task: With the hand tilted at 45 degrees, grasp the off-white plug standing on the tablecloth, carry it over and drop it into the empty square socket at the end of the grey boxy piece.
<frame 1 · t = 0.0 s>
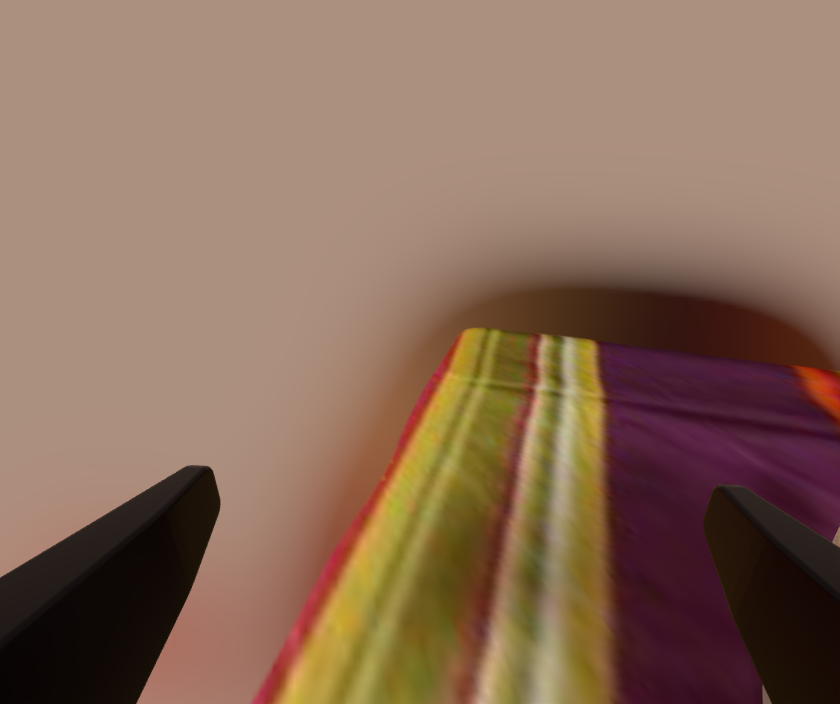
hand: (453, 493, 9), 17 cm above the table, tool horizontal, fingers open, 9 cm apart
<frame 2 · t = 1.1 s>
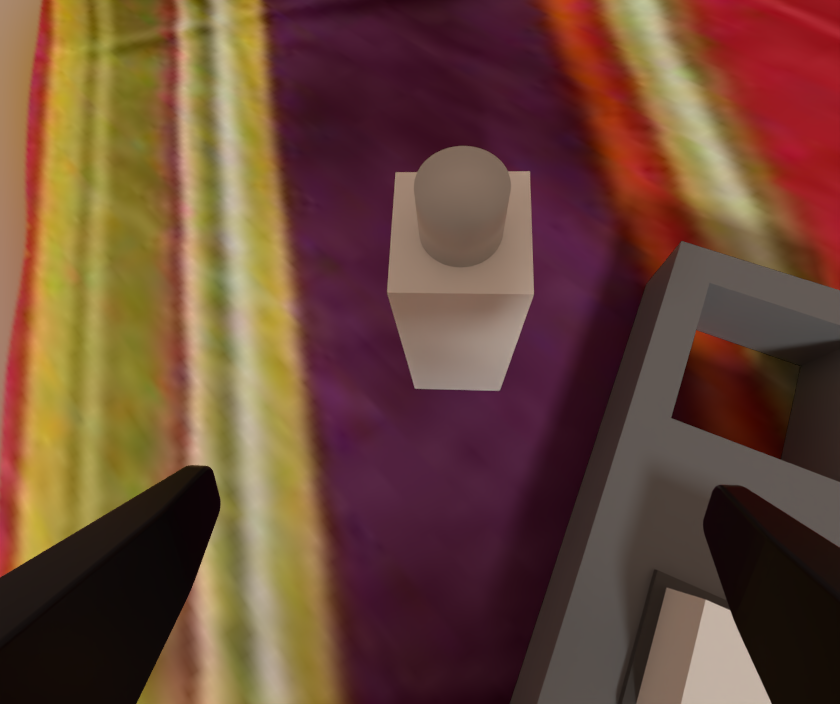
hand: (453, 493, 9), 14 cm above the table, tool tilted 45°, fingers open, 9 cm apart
grey boxy piece: (685, 529, 21), on the table
plug: (457, 349, 24), on the table
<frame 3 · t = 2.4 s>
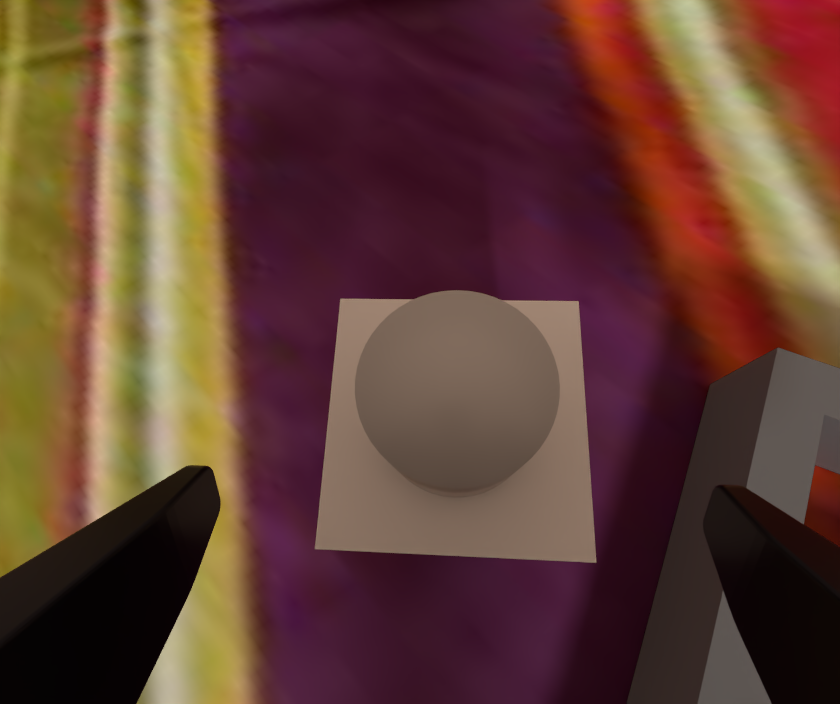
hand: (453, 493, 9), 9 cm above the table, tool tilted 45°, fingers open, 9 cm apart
plug: (454, 477, 18), on the table
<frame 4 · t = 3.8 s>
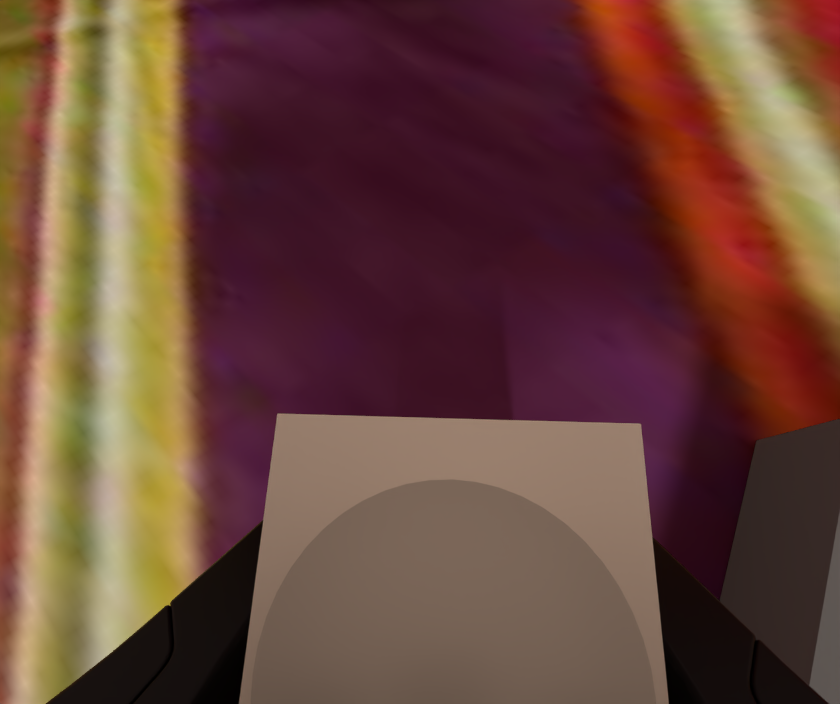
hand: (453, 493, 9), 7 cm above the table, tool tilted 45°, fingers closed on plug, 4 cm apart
plug: (452, 552, 15), on the table, touching gripper
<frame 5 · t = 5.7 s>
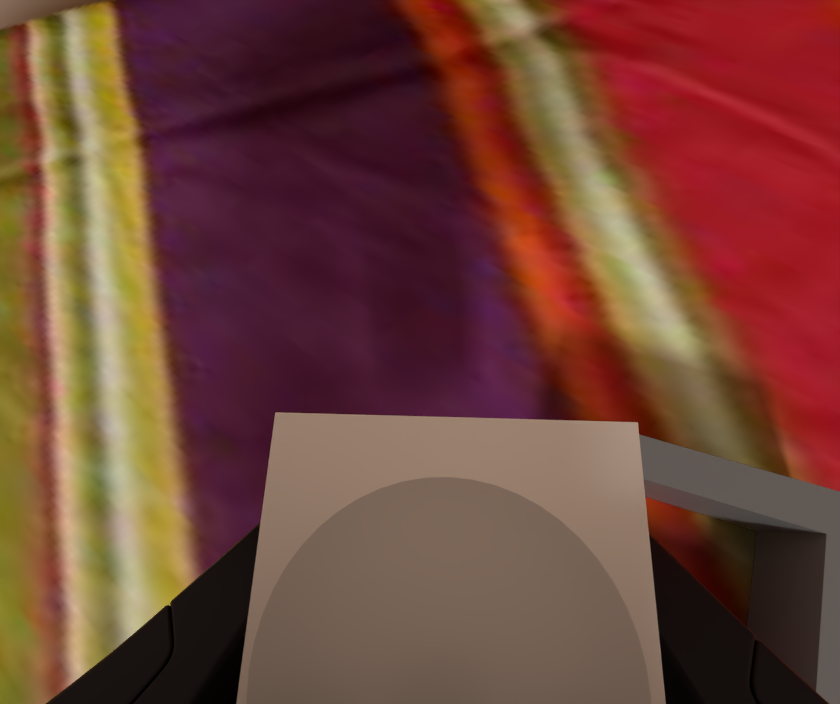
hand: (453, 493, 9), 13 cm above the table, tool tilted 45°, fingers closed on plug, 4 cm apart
plug: (451, 552, 15), point 6 cm above the table, touching gripper
when the fingers open (8 cm above the table, at t = 7.9 s): plug drops 1 cm, resting in grey boxy piece.
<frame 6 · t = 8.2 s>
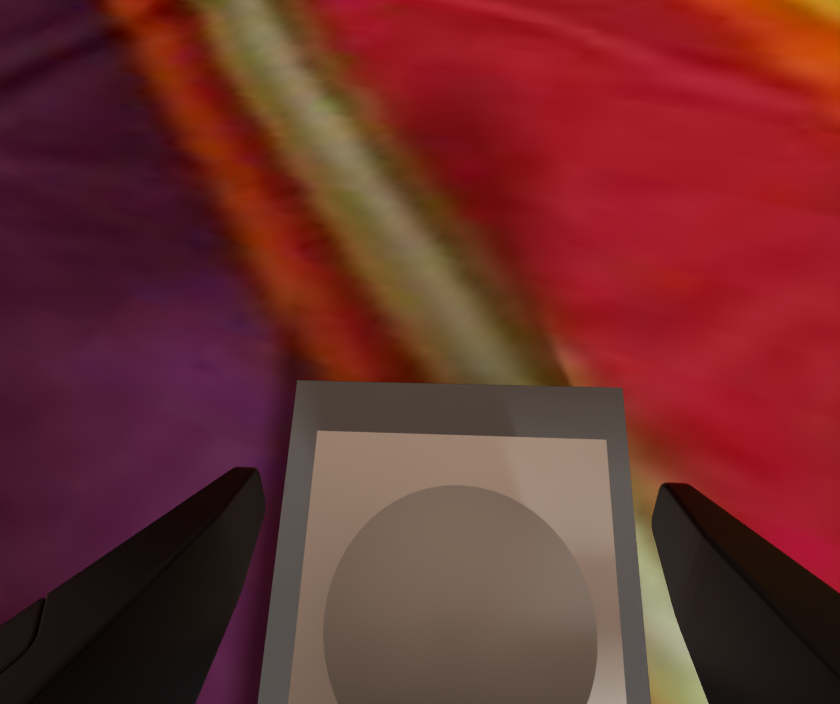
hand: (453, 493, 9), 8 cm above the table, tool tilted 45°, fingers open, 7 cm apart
plug: (453, 548, 16), resting in grey boxy piece
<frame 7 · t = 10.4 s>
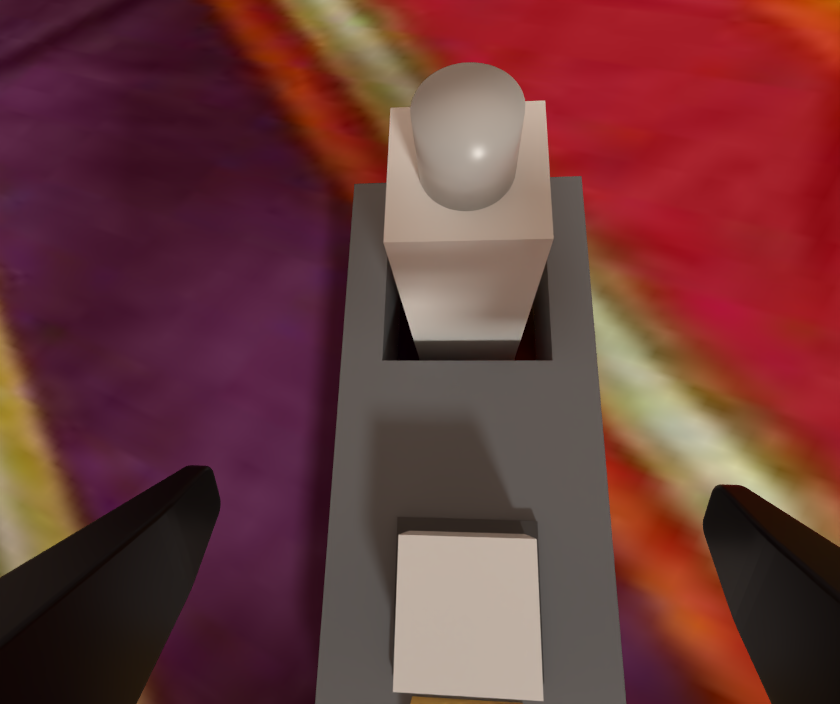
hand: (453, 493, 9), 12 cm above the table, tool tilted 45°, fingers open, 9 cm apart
grey boxy piece: (466, 458, 20), on the table
plug: (466, 321, 22), resting in grey boxy piece
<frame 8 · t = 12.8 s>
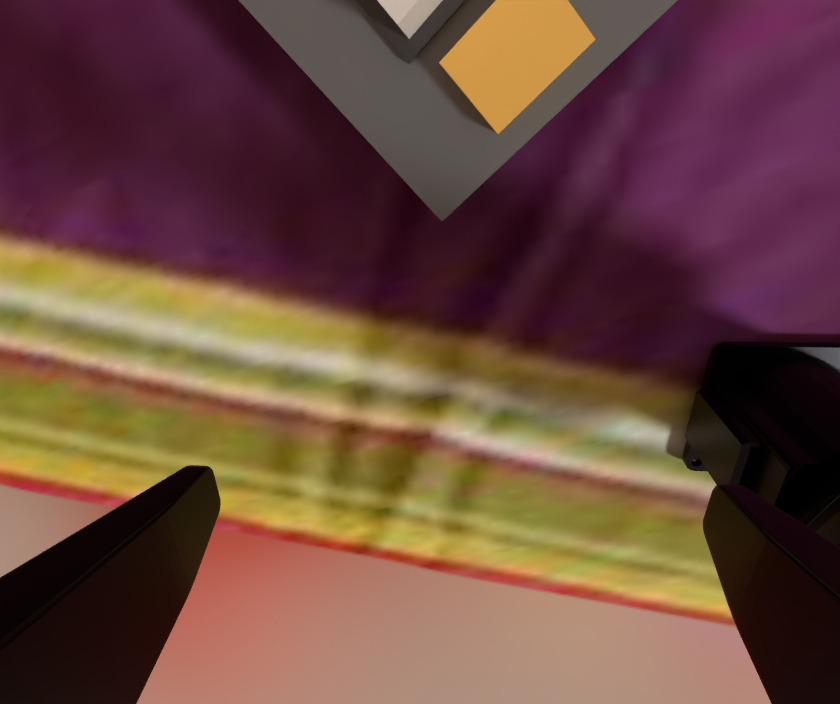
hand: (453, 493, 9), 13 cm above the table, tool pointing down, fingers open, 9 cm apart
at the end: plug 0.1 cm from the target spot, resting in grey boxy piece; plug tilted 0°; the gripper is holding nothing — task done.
